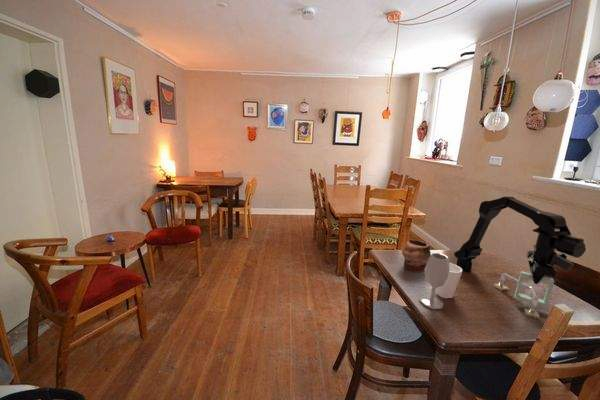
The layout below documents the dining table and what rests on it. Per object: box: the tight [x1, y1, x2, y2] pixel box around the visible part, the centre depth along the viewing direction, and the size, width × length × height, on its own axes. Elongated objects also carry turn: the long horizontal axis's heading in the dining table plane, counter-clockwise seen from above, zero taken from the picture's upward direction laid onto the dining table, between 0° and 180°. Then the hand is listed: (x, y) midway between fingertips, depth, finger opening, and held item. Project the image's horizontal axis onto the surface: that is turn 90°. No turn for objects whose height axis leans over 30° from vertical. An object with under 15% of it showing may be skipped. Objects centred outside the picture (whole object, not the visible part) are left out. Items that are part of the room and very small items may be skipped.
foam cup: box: [435, 262, 463, 299], centre depth 113 cm, size 10×9×13 cm
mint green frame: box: [513, 270, 555, 308], centre depth 106 cm, size 10×3×12 cm, turn 57°
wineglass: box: [418, 252, 450, 310], centre depth 105 cm, size 9×9×21 cm
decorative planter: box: [401, 239, 432, 273], centre depth 137 cm, size 20×12×14 cm, turn 126°
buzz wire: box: [492, 272, 540, 320], centre depth 112 cm, size 5×25×9 cm, turn 173°
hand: (535, 282), depth 106 cm, fingers closed on mint green frame, 2 cm apart
